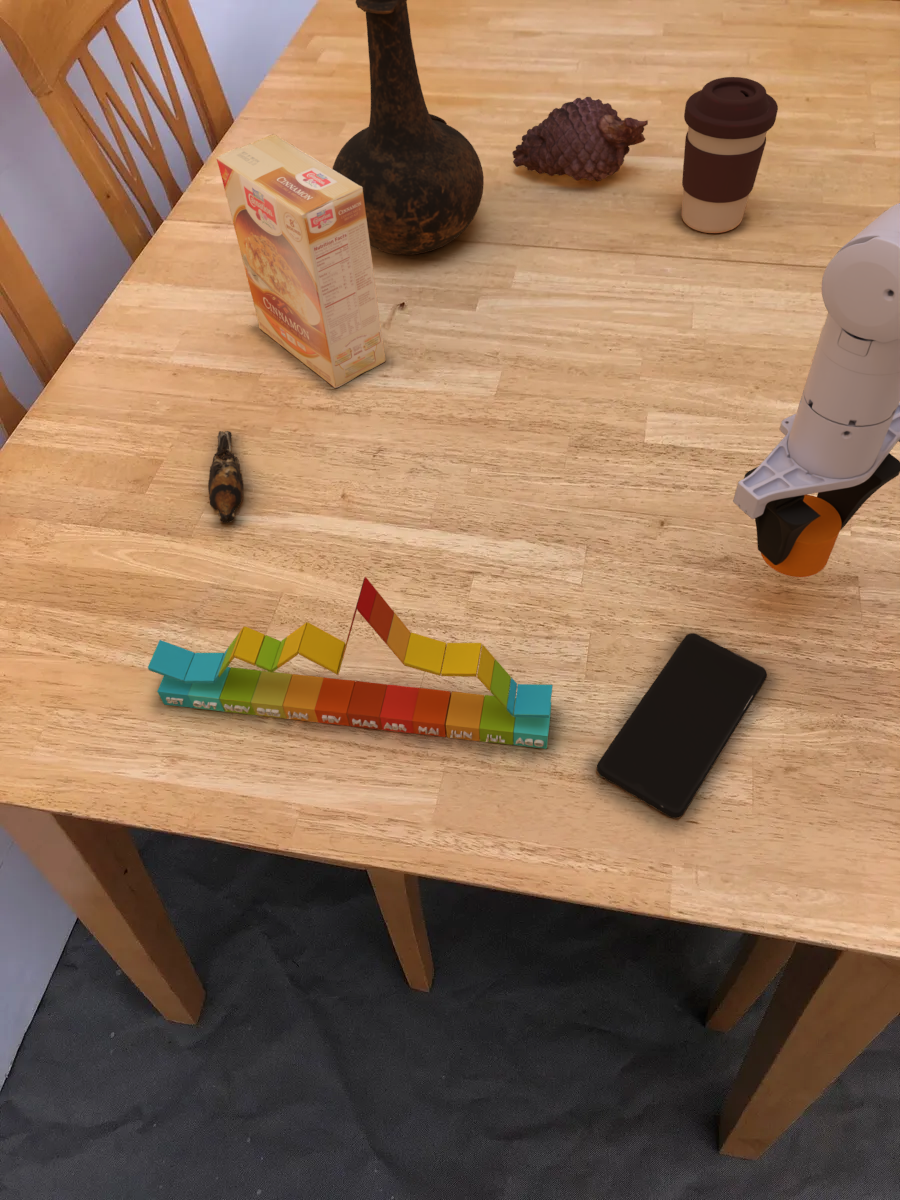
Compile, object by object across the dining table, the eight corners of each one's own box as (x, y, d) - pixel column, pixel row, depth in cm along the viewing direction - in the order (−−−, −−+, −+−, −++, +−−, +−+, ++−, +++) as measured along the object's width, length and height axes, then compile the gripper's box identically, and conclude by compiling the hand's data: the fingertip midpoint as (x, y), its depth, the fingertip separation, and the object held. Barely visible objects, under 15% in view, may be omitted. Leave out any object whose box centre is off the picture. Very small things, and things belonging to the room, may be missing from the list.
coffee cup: (663, 236, 111) (681, 106, 99) (676, 194, 116) (694, 66, 105) (748, 245, 108) (777, 113, 97) (757, 202, 114) (785, 73, 102)
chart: (163, 707, 73) (96, 588, 61) (176, 673, 75) (114, 552, 63) (546, 752, 69) (553, 633, 57) (550, 715, 71) (558, 593, 59)
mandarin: (842, 556, 70) (858, 518, 67) (796, 588, 68) (810, 550, 65) (791, 518, 73) (804, 479, 69) (745, 548, 71) (757, 509, 68)
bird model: (208, 537, 84) (200, 517, 82) (216, 438, 93) (209, 418, 91) (243, 532, 84) (236, 512, 82) (247, 434, 93) (241, 414, 91)
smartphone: (771, 669, 71) (679, 819, 64) (768, 675, 72) (677, 824, 65) (689, 628, 74) (593, 767, 67) (687, 634, 74) (592, 773, 67)
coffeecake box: (257, 328, 104) (212, 156, 88) (309, 302, 106) (275, 130, 91) (334, 391, 96) (300, 214, 81) (388, 361, 99) (365, 184, 83)
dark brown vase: (506, 211, 116) (504, -49, 94) (446, 288, 106) (429, 18, 84) (381, 187, 121) (352, -64, 99) (313, 259, 112) (264, -2, 90)
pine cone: (508, 196, 118) (497, 110, 115) (529, 198, 127) (519, 118, 124) (648, 167, 111) (639, 75, 108) (659, 171, 120) (652, 86, 117)
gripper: (886, 326, 63) (832, 471, 74) (718, 404, 59) (687, 545, 70) (970, 381, 59) (900, 526, 70) (797, 468, 55) (751, 608, 66)
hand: (798, 540), depth 69 cm, fingers closed on mandarin, 5 cm apart
